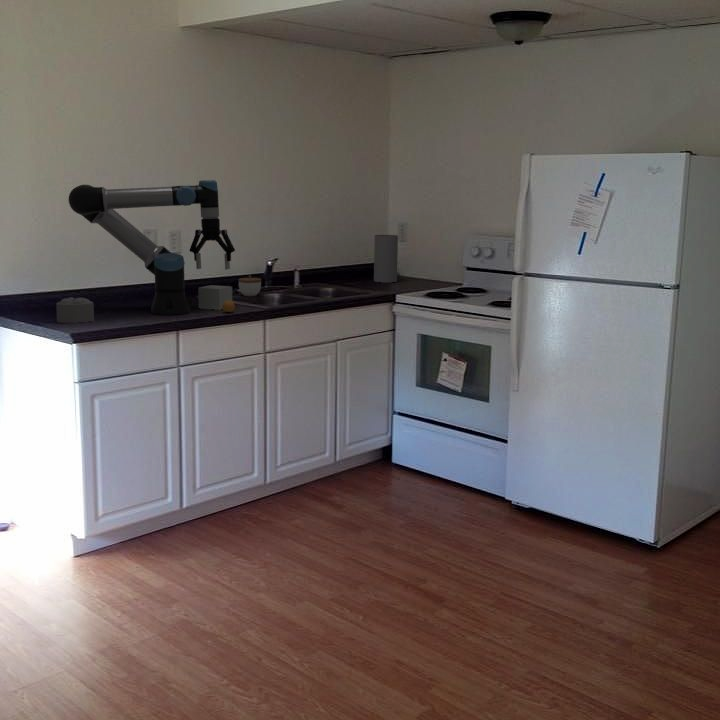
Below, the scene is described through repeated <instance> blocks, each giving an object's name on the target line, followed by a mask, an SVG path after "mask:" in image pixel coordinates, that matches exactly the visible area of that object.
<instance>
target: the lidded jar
mask: <svg viewBox="0 0 720 720" xmlns="http://www.w3.org/2000/svg"><path fill="white" fill-rule="evenodd" d="M237 279H238V289H239V291H240V293H241V294H242V295H243V296H245V297H256V296H257V295H259V293H260V291H261V287H262V278H259V277H252V275H251V274H250V275H248V277H241V278H237Z"/></svg>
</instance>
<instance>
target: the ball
mask: <svg viewBox="0 0 720 720" xmlns="http://www.w3.org/2000/svg"><path fill="white" fill-rule="evenodd" d="M222 307H223V310H222V311H224V312H225V313H227V312H230V313H232V312H233V311H234V310H235V308H236V305H235V303H234V302H233V300H232V301H230V300H228V301H225V302H224V303H223V306H222Z"/></svg>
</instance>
